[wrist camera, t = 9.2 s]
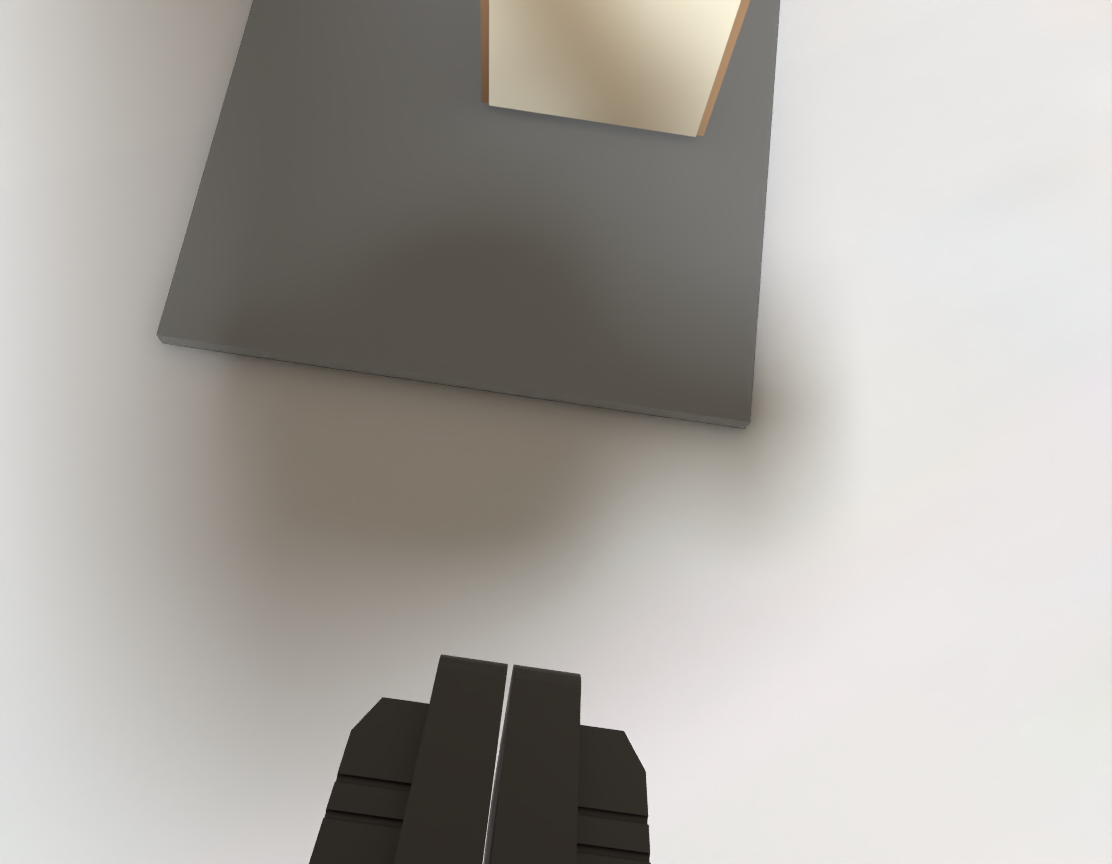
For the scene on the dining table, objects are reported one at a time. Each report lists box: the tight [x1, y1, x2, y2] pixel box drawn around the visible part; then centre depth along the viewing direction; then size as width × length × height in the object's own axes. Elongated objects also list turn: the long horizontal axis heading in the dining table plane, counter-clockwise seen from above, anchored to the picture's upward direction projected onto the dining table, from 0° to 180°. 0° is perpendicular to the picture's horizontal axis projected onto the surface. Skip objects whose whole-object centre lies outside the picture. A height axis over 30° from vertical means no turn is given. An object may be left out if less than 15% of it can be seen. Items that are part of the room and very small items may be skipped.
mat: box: [157, 0, 780, 429], centre depth 23 cm, size 12×18×1 cm, turn 173°
